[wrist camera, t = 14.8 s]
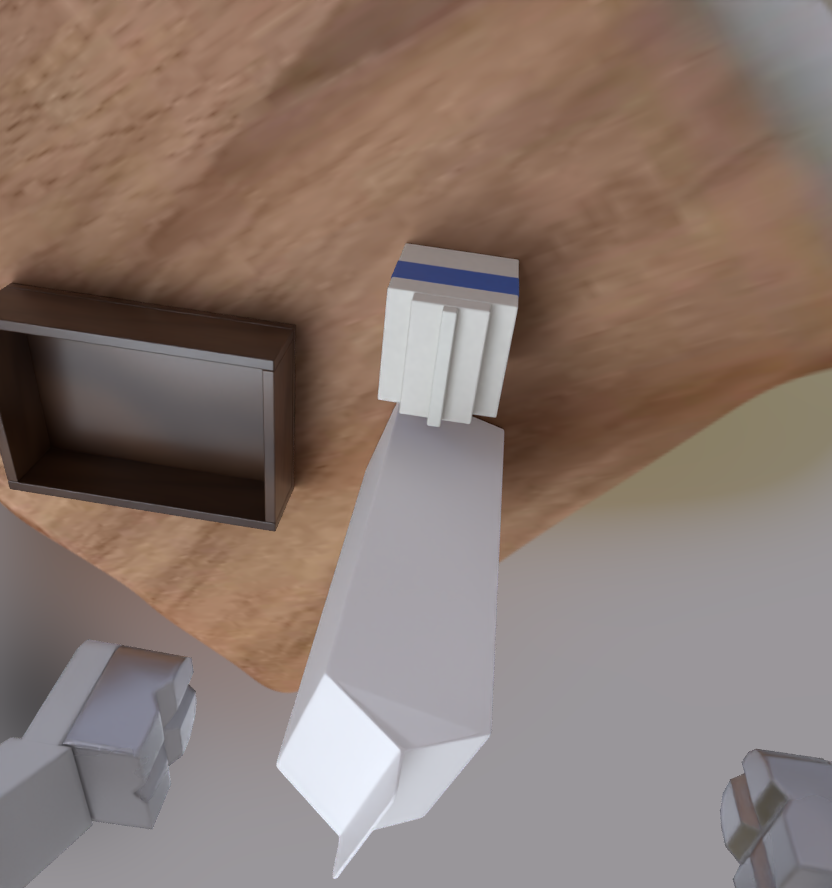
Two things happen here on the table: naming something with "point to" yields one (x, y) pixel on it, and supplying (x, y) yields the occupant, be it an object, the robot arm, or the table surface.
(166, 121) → the table surface
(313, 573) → the table surface
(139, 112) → the table surface
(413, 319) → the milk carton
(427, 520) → the milk
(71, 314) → the box
